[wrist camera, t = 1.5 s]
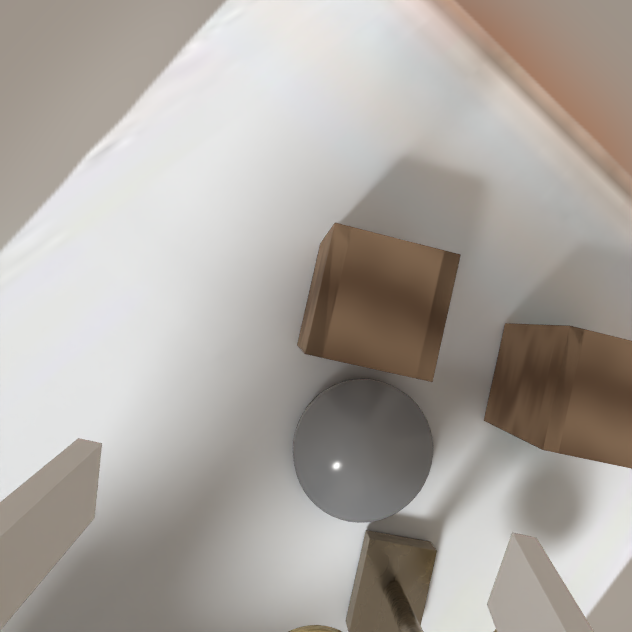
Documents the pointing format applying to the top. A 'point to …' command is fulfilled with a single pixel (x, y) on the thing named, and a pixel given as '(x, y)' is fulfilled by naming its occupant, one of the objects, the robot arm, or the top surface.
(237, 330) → the top surface
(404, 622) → the balance
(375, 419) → the dish
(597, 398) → the cover
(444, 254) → the cover
